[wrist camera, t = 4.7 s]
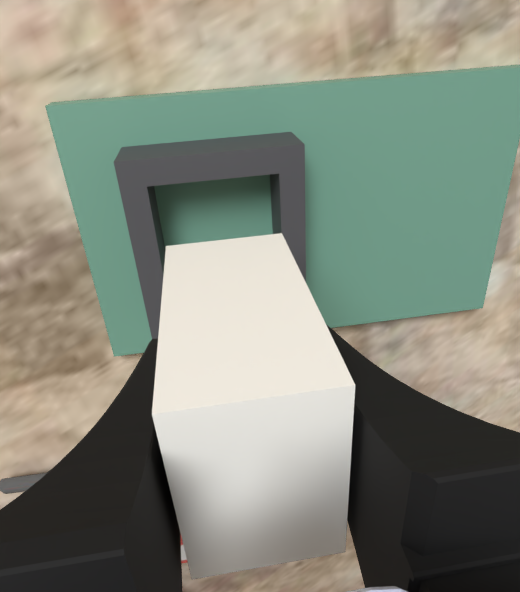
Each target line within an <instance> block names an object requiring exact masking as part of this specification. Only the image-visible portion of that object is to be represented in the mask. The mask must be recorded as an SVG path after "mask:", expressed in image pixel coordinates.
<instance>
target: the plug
mask: <svg viewBox="0 0 520 592" xmlns="http://www.w3.org/2000/svg"><path fill="white" fill-rule="evenodd" d="M354 400H355V383H354V381H353V379H352V377H351V375H350V373H349V371H348V369H347V367H346V365H345V363H344V360H343V358H342V356H341V354H340V352H339V350H338V348H337V346H336V344H335V342H334V340H333V338H332V336H331V334H330V332H329V329H328V327H327V325H326V323H325V321H324V319H323V317H322V315H321V313H320V311H319V309H318V307H317V305H316V303H315V301H314V299H313V296H312V294H311V292H310V290H309V288H308V286H307V284H306V282H305V280H304V278H303V276H302V274H301V272H300V270H299V268H298V265H297V263H296V261H295V259H294V257H293V255H292V253H291V251H290V249H289V247H288V245H287V243H286V241H285V239H284V237H283V234H282V233H279V234H270V235H261V236H252V237H243V238H234V239H225V240H216V241H207V242H198V243H189V244H180V245H171V246H166V251H165V263H164V275H163V287H162V299H161V311H160V323H159V335H158V346H157V358H156V370H155V382H154V394H153V406H152V417H153V421H154V425H155V430H156V434H157V438H158V442H159V446H160V450H161V454H162V459H163V463H164V467H165V471H166V475H167V479H168V483H169V488H170V492H171V496H172V500H173V504H174V508H175V512H176V516H177V521H178V525H179V529H180V533H181V537H182V541H183V545H184V550H185V554H186V558H187V562H188V566H189V570H190V574H191V579H198V578H203V577H209V576H215V575H220V574H226V573H231V572H237V571H243V570H248V569H254V568H259V567H265V566H271V565H276V564H282V563H287V562H293V561H299V560H304V559H310V558H315V557H321V556H327V555H332V554H338V553H343V552H345V549H346V532H347V515H348V499H349V482H350V466H351V449H352V433H353V416H354Z"/></svg>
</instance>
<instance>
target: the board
mask: <svg viewBox="0 0 520 592" xmlns="http://www.w3.org/2000/svg"><path fill="white" fill-rule="evenodd" d="M45 107H46V110H47V114H48V118H49V121H50V125H51V129H52V132H53V136H54V139H55V143H56V147H57V150H58V154H59V158H60V161H61V165H62V169H63V172H64V176H65V179H66V183H67V187H68V190H69V194H70V198H71V201H72V205H73V209H74V212H75V216H76V219H77V223H78V227H79V230H80V234H81V238H82V241H83V245H84V248H85V252H86V256H87V259H88V263H89V267H90V270H91V274H92V278H93V281H94V285H95V288H96V292H97V296H98V299H99V303H100V307H101V310H102V314H103V318H104V321H105V325H106V328H107V332H108V336H109V339H110V343H111V347H112V350H113V354H114V356H122V355H129V354H137V353H144V352H145V350H146V348H147V346H148V344H149V342H150V341H151V340H152V339H157V338H158V335H159V323H160V311H161V299H162V287H163V275H164V263H165V251H166V246H171V245H180V244H189V243H198V242H207V241H216V240H225V239H234V238H243V237H252V236H261V235H270V234H279V233H282V234H283V237H284V239H285V241H286V243H287V245H288V247H289V249H290V251H291V253H292V255H293V257H294V259H295V261H296V263H297V265H298V268H299V270H300V272H301V274H302V276H303V278H304V280H305V282H306V284H307V286H308V288H309V290H310V292H311V294H312V296H313V299H314V301H315V303H316V305H317V307H318V309H319V311H320V313H321V315H322V317H323V319H324V321H325V323H326V324H327V325H328V326H329V327H330V328H334V327H342V326H350V325H357V324H365V323H372V322H380V321H388V320H395V319H403V318H410V317H418V316H426V315H433V314H441V313H448V312H456V311H464V310H471V309H479V308H483V304H484V299H485V295H486V290H487V286H488V281H489V277H490V272H491V267H492V263H493V258H494V254H495V249H496V244H497V240H498V235H499V231H500V226H501V221H502V217H503V212H504V208H505V203H506V199H507V194H508V189H509V185H510V180H511V176H512V171H513V166H514V162H515V157H516V153H517V148H518V143H519V139H520V65H510V66H498V67H486V68H473V69H461V70H448V71H436V72H424V73H411V74H399V75H386V76H374V77H362V78H349V79H337V80H325V81H312V82H300V83H287V84H275V85H263V86H250V87H238V88H225V89H213V90H201V91H188V92H176V93H163V94H151V95H139V96H126V97H114V98H102V99H89V100H77V101H64V102H52V103H50V104H48V105H46V106H45Z"/></svg>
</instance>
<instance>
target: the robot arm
mask: <svg viewBox="0 0 520 592" xmlns="http://www.w3.org/2000/svg"><path fill="white" fill-rule="evenodd" d="M326 325H327V324H326ZM327 327H328V329H329V332H330V334H331V336H332V338H333V340H334V342H335V344H336V346H337V348H338V350H339V352H340V354H341V356H342V358H343V360H344V363H345V365H346V367H347V369H348V371H349V373H350V375H351V377H352V379H353V381H354V383H355V400H354V416H353V433H352V449H351V466H350V482H349V499H348V515H347V520H348V524H349V528H350V531H351V535H352V539H353V542H354V546H355V550H356V553H357V557H358V561H359V565H360V569H361V573H362V577H363V581H364V585H365V588H363V589H358V590H352V591H347V592H520V433H519V432H516V431H513V430H509V429H506V428H503V427H500V426H497V425H493V424H490V423H488V422H485V421H482V420H480V419H477V418H475V417H472V416H469V415H467V414H464V413H462V412H460V411H457V410H455V409H453V408H450V407H448V406H446V405H444V404H442V403H440V402H438V401H436V400H433V399H431V398H429V397H427V396H425V395H423V394H422V393H420V392H418V391H416V390H414V389H412V388H411V387H409V386H407V385H406V384H404V383H402V382H400V381H399V380H397V379H395V378H394V377H392V376H391V375H389V374H388V373H386V372H385V371H383V370H382V369H380V368H379V367H378V366H376V365H375V364H373V363H372V362H371V361H369V360H368V359H367V358H365V357H364V356H363V355H362V354H360V353H359V352H358V351H357V350H355V349H354V348H353V347H352V346H351V345H349V344H348V343H347V342H346V341H345V340H344V339H342V338H341V337H340V336H339V335H338V334H337V333H336V332H335V331H333V330H332V329H331V328H330V327H329V326H328V325H327ZM157 346H158V338H157V339H152V340H151V341H150V342H149V344H148V346H147V348H146V350H145V352H144V353H143V355H142V357H141V359H140V361H139V362H138V364H137V366H136V368H135V369H134V371H133V373H132V374H131V376H130V377H129V379H128V381H127V382H126V384H125V385H124V387H123V388H122V390H121V391H120V393H119V394H118V396H117V397H116V398H115V400H114V401H113V403H112V404H111V405H110V407H109V408H108V409H107V411H106V412H105V413H104V415H103V416H102V417H101V418H100V420H99V421H98V422H97V423H96V425H95V426H94V427H93V428H92V429H91V430H90V431H89V433H88V434H87V435H86V436H85V437H84V438H83V439H82V440H81V441H80V442H79V443H78V444H77V445H76V447H75V448H73V449H72V450H71V451H70V452H69V453H68V454H67V455H66V456H65V457H64V458H63V459H62V460H61V461H60V462H59V463H58V464H57V465H56V466H55V467H54V468H53V469H51V470H50V471H49V472H48V473H47V474H46V475H44V476H43V477H42V478H41V479H40V480H39V481H37V482H36V483H35V484H34V485H32V486H31V487H30V488H29V489H28V490H26V491H25V492H24V493H22V494H21V495H20V496H19V497H17V498H16V499H15V500H13V501H12V502H10V503H9V504H8V505H6V506H5V507H4V508H2V509H1V510H0V592H182V569H181V533H180V529H179V525H178V521H177V516H176V512H175V508H174V504H173V500H172V496H171V492H170V488H169V483H168V479H167V475H166V471H165V467H164V463H163V459H162V454H161V450H160V446H159V442H158V438H157V434H156V430H155V425H154V421H153V417H152V406H153V394H154V382H155V370H156V358H157Z"/></svg>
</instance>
